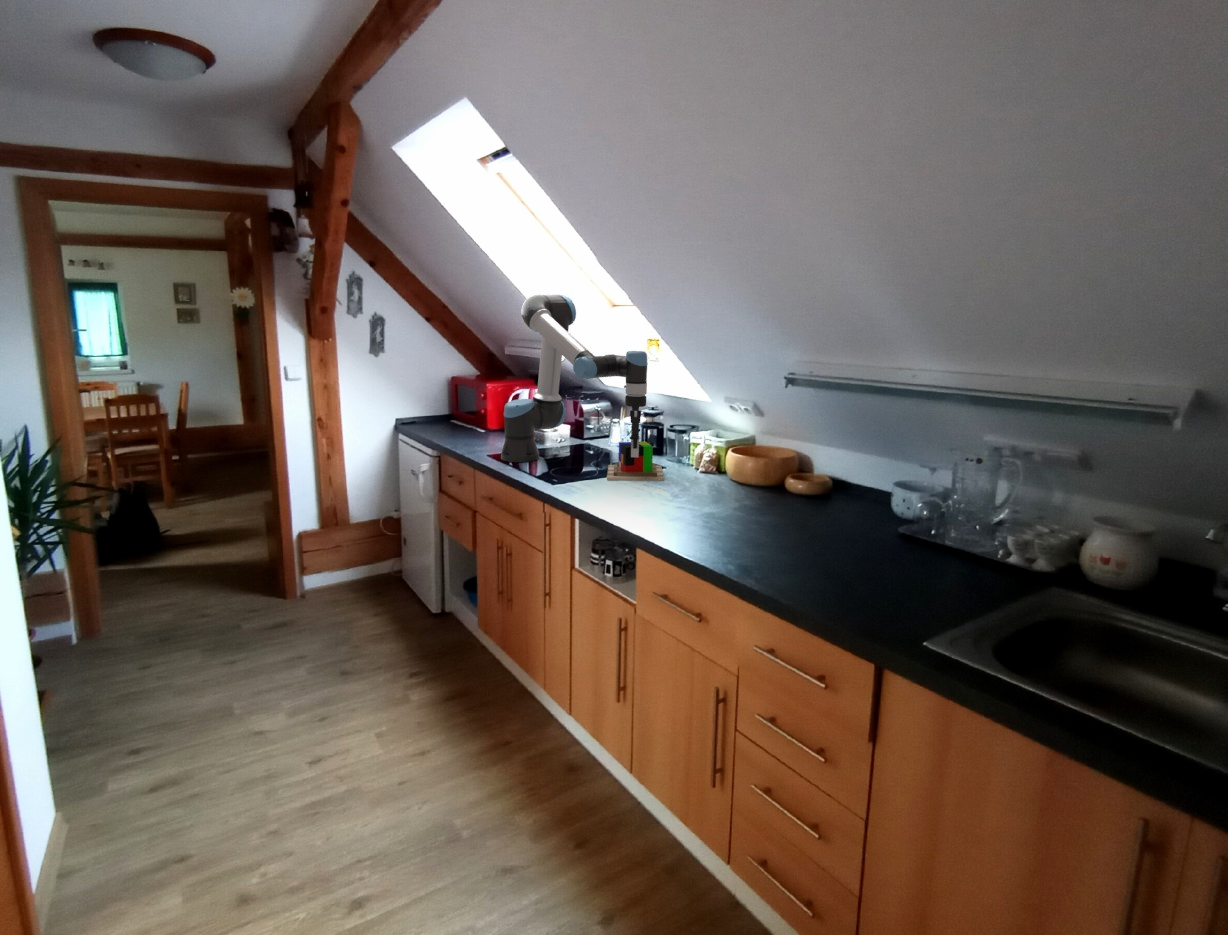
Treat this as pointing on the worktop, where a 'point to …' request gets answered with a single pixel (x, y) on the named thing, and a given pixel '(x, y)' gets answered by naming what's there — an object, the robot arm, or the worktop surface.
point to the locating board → (635, 474)
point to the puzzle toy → (635, 458)
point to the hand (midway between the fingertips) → (634, 453)
